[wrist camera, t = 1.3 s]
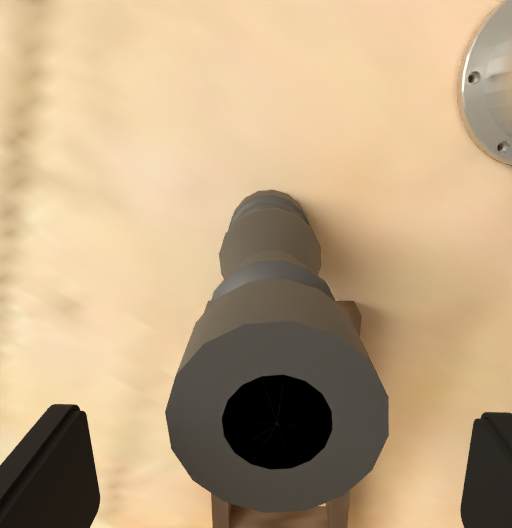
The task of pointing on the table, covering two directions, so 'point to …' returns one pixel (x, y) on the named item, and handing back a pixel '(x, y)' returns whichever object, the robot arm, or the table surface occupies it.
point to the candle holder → (275, 374)
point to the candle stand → (293, 522)
